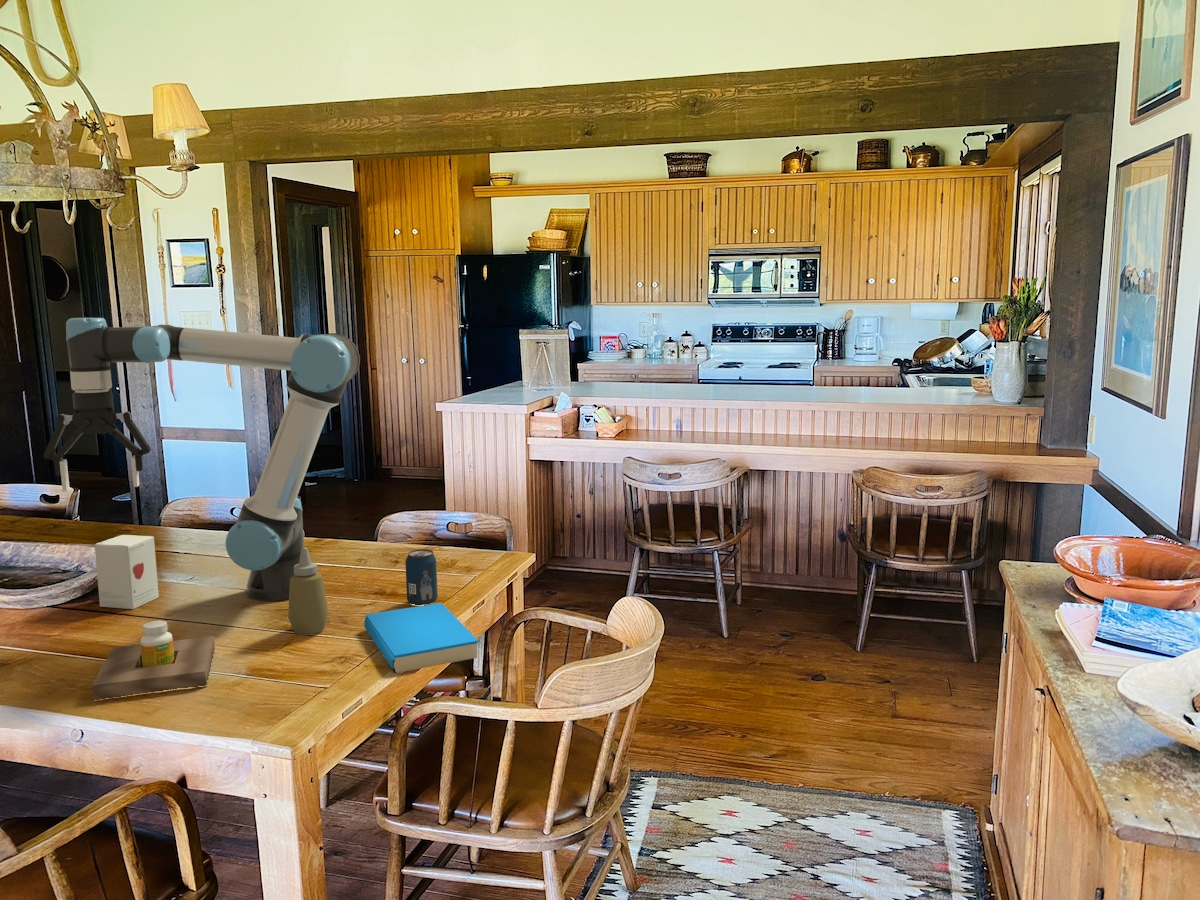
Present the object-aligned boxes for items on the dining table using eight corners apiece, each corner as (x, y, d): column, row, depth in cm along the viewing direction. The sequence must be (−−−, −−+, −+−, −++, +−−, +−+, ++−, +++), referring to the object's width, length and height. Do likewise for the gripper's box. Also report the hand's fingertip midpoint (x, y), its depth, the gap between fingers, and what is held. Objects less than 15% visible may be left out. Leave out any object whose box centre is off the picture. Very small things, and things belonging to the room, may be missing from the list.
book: (441, 602, 194) (479, 638, 172) (441, 621, 195) (480, 659, 173) (362, 614, 187) (392, 654, 165) (363, 634, 187) (393, 676, 165)
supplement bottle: (159, 681, 162) (154, 630, 161) (136, 677, 164) (131, 627, 163) (182, 670, 167) (177, 620, 166) (159, 666, 169) (155, 617, 168)
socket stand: (214, 650, 177) (213, 636, 176) (206, 687, 160) (205, 671, 159) (113, 662, 171) (112, 647, 170) (93, 701, 154) (92, 685, 154)
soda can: (420, 596, 209) (418, 547, 207) (443, 600, 206) (442, 550, 204) (400, 605, 203) (398, 554, 201) (424, 609, 200) (422, 558, 198)
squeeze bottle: (292, 640, 182) (286, 555, 179) (286, 628, 189) (281, 546, 186) (332, 633, 185) (328, 550, 182) (325, 621, 192) (320, 541, 189)
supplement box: (133, 610, 200) (127, 546, 198) (98, 607, 202) (92, 543, 200) (160, 597, 209) (155, 535, 207) (127, 594, 211) (121, 533, 208)
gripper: (159, 387, 197) (167, 481, 200) (30, 391, 189) (40, 488, 192) (154, 390, 190) (162, 487, 193) (19, 394, 182) (31, 495, 185)
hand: (101, 488), depth 193 cm, fingers open, 13 cm apart
